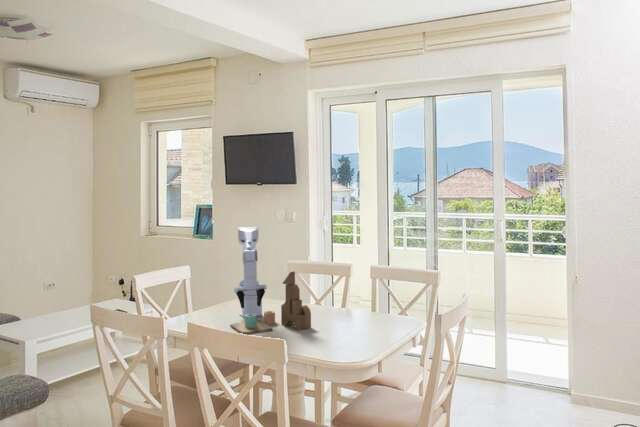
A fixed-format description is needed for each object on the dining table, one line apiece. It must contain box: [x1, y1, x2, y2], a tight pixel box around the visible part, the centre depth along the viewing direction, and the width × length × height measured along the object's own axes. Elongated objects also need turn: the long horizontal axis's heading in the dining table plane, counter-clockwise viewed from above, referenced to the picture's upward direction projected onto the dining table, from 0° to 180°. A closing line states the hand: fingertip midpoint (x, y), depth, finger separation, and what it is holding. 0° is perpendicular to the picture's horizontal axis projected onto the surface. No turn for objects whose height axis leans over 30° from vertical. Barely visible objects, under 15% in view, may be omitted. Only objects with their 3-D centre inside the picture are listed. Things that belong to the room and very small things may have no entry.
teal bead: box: [244, 314, 258, 328], centre depth 221 cm, size 5×5×5 cm
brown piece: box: [229, 314, 273, 335], centre depth 221 cm, size 14×16×7 cm
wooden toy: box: [280, 271, 312, 331], centre depth 224 cm, size 15×7×25 cm, turn 42°
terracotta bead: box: [263, 310, 276, 325], centre depth 231 cm, size 5×5×5 cm
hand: (250, 306), depth 221 cm, fingers open, 7 cm apart
